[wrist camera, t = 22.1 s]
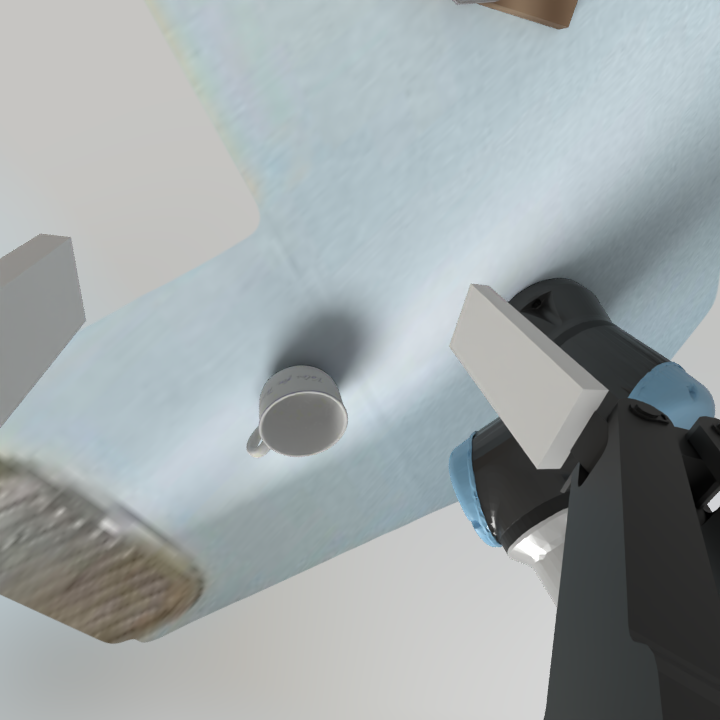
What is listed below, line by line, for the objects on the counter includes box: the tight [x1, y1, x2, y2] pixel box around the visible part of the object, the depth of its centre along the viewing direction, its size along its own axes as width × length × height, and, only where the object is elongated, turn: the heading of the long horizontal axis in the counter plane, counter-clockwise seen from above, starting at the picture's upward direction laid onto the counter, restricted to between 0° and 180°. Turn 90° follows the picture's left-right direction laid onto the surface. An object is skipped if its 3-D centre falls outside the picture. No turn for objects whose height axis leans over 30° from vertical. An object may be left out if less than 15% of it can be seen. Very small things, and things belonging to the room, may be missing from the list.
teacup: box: [247, 365, 348, 458], centre depth 52 cm, size 14×11×8 cm
